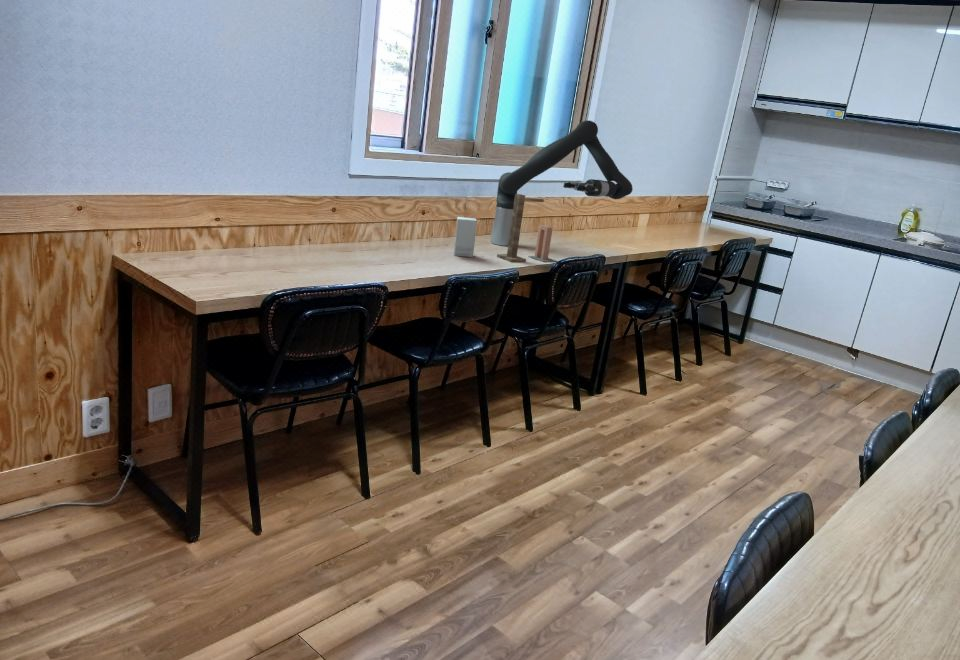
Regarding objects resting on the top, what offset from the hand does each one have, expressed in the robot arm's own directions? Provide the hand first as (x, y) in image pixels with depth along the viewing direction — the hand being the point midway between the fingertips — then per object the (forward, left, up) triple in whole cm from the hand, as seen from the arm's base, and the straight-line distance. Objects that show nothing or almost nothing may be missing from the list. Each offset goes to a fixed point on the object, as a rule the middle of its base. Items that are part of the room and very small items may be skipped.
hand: (570, 186), depth 326 cm
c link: (+1, -12, -32) cm, 34 cm away
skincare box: (-8, -48, -32) cm, 58 cm away
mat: (+2, -12, -32) cm, 34 cm away
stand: (+1, -25, -32) cm, 40 cm away
